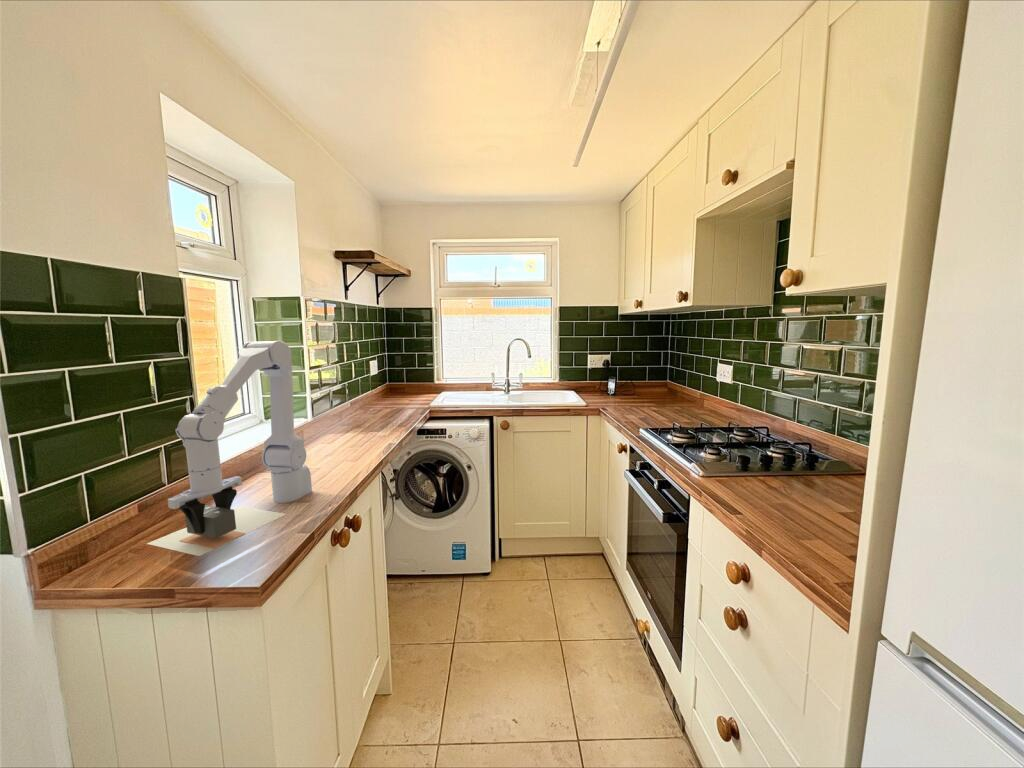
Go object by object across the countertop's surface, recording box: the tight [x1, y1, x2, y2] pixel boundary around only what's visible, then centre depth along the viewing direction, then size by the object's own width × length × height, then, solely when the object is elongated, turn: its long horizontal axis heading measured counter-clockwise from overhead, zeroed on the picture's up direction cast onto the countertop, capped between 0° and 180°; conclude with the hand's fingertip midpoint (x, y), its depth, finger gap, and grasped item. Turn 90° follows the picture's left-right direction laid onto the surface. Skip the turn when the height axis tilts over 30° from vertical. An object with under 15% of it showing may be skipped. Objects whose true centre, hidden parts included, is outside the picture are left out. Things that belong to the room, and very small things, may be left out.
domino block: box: [184, 504, 236, 538], centre depth 93 cm, size 9×5×5 cm, turn 70°
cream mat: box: [146, 505, 287, 557], centre depth 98 cm, size 21×17×1 cm
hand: (211, 527), depth 93 cm, fingers closed on domino block, 5 cm apart
